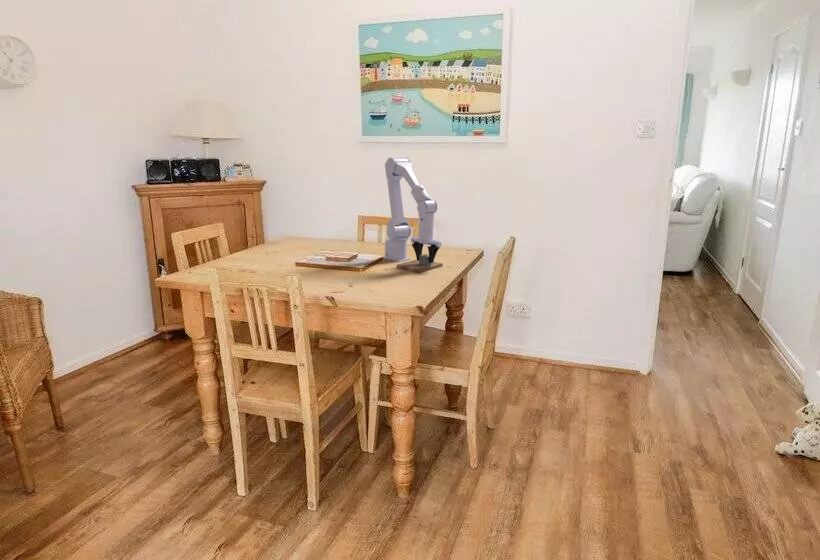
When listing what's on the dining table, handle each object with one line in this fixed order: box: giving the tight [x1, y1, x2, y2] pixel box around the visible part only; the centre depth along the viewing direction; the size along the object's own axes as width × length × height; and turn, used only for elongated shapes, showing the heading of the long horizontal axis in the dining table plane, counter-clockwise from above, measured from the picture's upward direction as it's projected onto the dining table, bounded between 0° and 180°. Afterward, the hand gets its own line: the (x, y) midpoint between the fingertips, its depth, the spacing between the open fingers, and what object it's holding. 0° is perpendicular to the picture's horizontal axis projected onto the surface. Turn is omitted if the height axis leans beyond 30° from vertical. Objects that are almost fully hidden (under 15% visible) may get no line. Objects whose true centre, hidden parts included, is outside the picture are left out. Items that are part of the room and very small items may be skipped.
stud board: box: [396, 259, 444, 274], centre depth 235 cm, size 12×16×4 cm
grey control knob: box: [419, 253, 432, 266], centre depth 235 cm, size 5×5×4 cm
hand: (425, 261), depth 235 cm, fingers open, 6 cm apart
